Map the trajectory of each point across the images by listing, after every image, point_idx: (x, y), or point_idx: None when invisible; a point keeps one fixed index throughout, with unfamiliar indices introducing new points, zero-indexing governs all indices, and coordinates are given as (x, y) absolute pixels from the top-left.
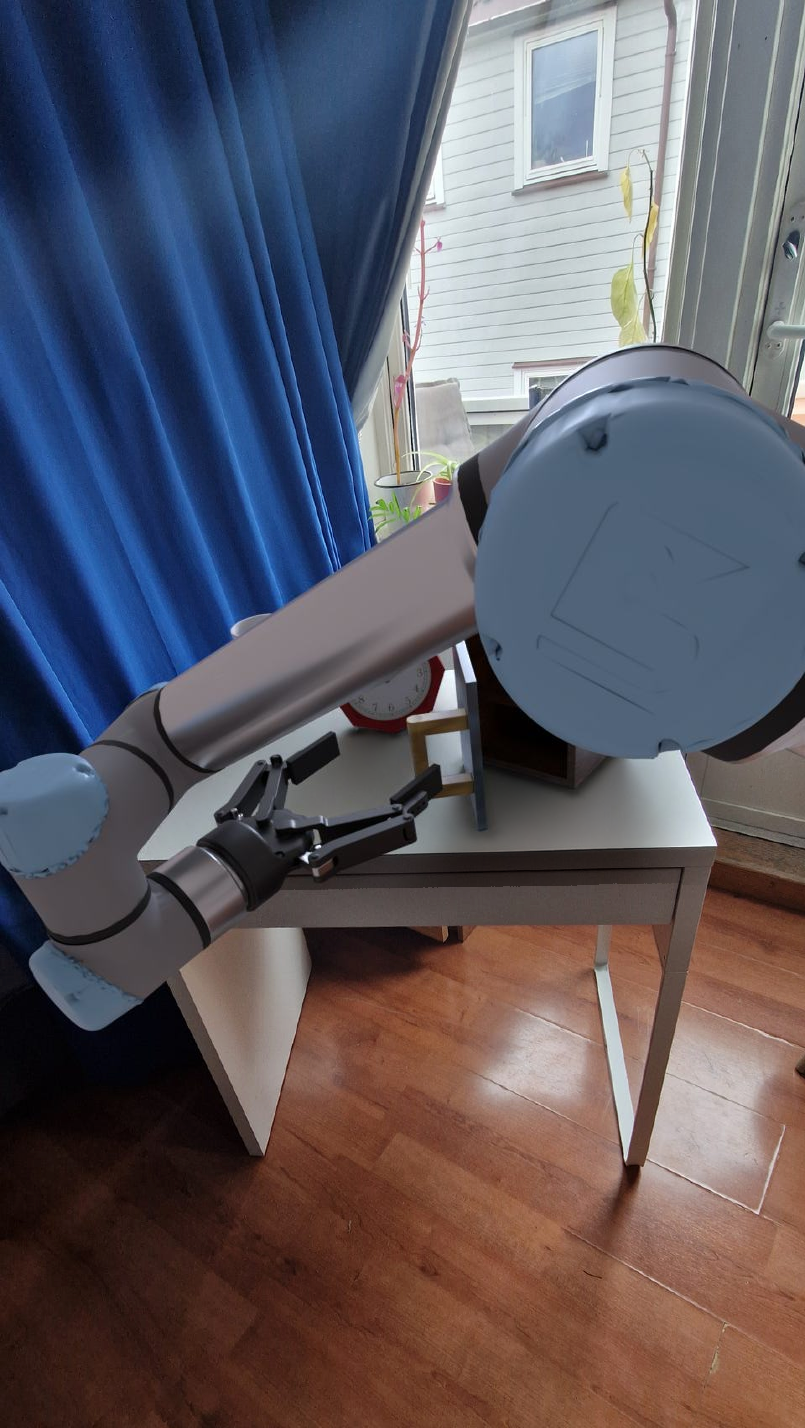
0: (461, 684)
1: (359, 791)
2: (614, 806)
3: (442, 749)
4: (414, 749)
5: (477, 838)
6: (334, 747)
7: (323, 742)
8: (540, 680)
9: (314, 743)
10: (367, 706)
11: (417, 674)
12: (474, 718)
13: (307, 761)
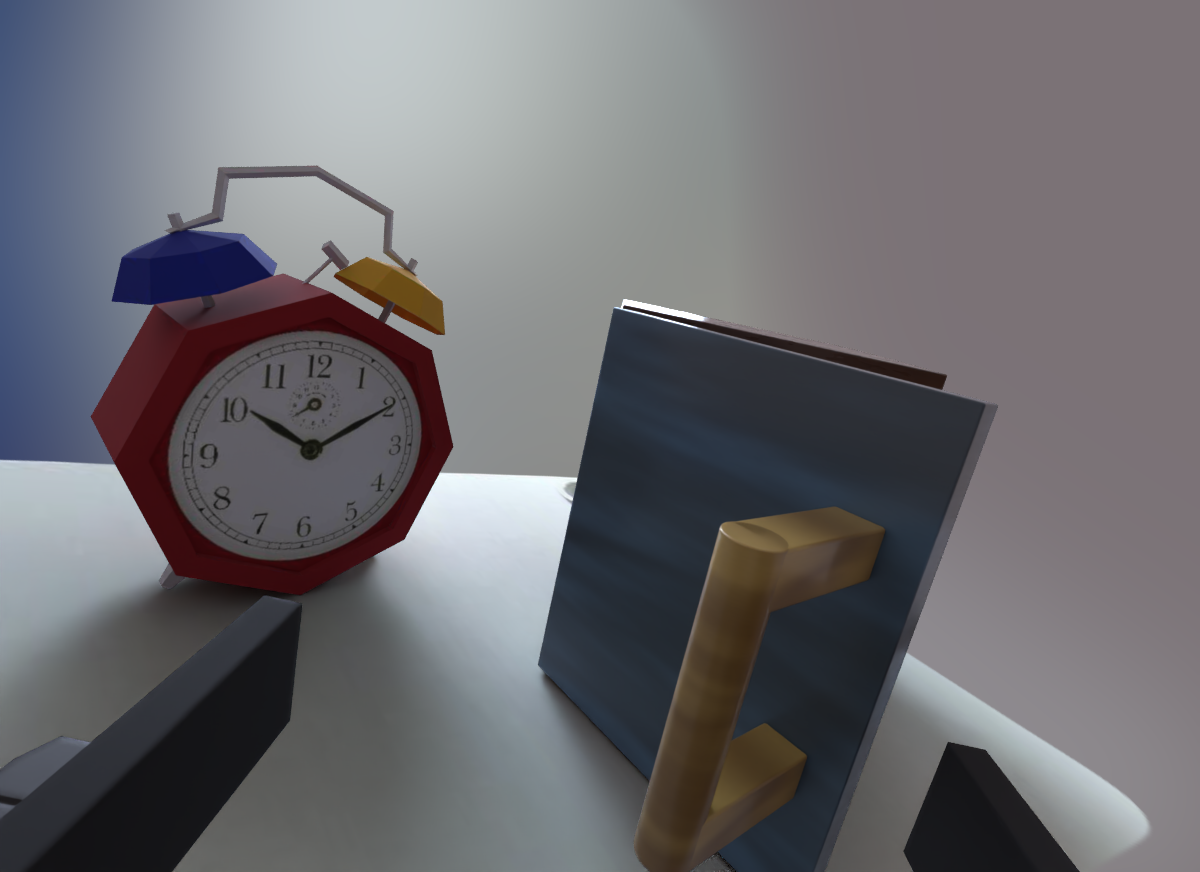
0: (782, 435)
1: (246, 834)
2: (939, 750)
3: (458, 634)
4: (734, 669)
5: None
6: (280, 686)
7: (244, 668)
8: None
9: (183, 683)
10: (236, 519)
11: (390, 448)
12: (944, 538)
13: (116, 843)
